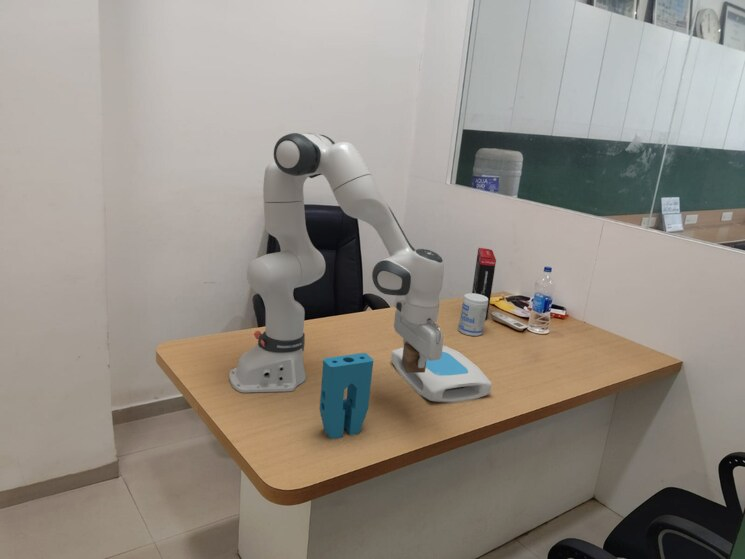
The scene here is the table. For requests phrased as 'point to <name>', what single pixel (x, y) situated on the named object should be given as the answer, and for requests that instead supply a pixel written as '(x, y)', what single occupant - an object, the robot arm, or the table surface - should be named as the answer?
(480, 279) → the graphics card box
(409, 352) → the walnut block
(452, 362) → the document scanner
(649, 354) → the table surface
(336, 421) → the block
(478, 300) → the supplement tub
